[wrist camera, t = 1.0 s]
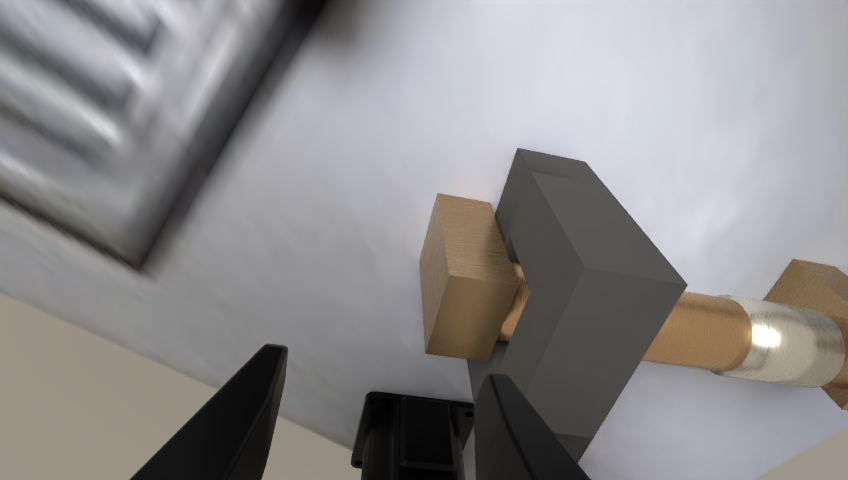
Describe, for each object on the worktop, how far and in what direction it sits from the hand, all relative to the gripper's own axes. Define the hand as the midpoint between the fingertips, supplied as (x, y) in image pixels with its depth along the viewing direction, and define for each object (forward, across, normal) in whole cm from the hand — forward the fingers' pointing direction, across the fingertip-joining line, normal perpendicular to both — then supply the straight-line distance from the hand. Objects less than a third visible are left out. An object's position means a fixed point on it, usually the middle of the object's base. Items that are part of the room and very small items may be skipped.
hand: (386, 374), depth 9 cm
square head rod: (+12, -12, +4) cm, 18 cm away
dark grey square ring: (+12, -6, +4) cm, 15 cm away
